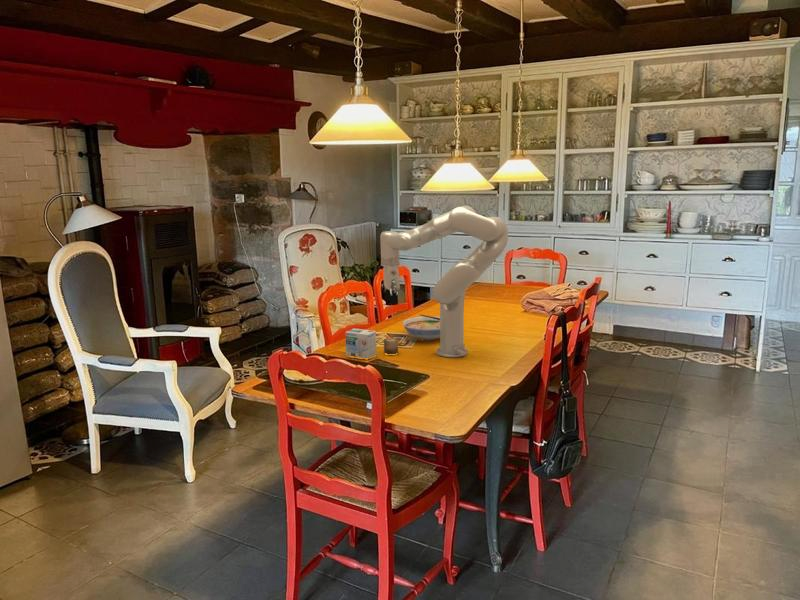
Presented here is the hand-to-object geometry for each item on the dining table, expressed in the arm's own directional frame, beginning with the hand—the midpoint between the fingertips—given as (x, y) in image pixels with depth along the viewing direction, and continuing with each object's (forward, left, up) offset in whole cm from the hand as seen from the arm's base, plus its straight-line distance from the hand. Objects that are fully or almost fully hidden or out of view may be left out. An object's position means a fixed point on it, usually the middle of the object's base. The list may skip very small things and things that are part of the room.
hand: (391, 302), depth 245 cm
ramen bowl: (+4, -20, -20) cm, 28 cm away
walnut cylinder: (-7, +5, -20) cm, 21 cm away
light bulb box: (-4, +17, -20) cm, 26 cm away
